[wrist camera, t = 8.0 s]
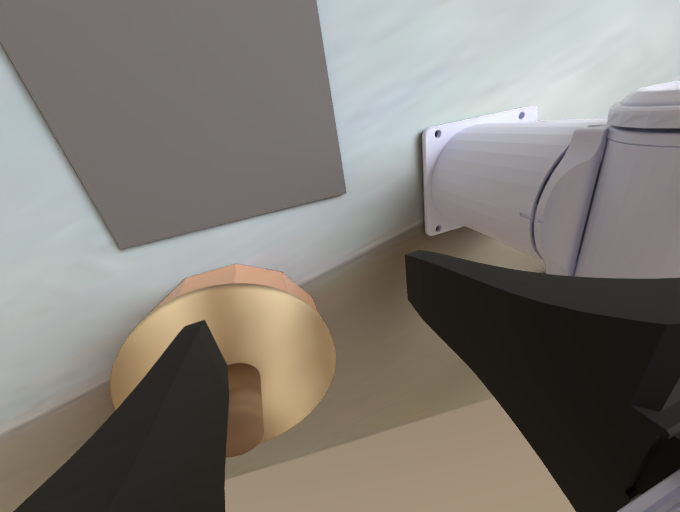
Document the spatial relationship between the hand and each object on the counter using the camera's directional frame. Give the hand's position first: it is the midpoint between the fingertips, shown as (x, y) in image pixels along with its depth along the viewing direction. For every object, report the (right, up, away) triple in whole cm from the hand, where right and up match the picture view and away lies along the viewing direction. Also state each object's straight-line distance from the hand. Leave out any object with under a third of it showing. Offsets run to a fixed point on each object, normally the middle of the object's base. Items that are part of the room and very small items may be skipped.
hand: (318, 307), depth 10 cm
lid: (-6, -5, +8) cm, 11 cm away
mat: (-7, +10, +5) cm, 13 cm away
